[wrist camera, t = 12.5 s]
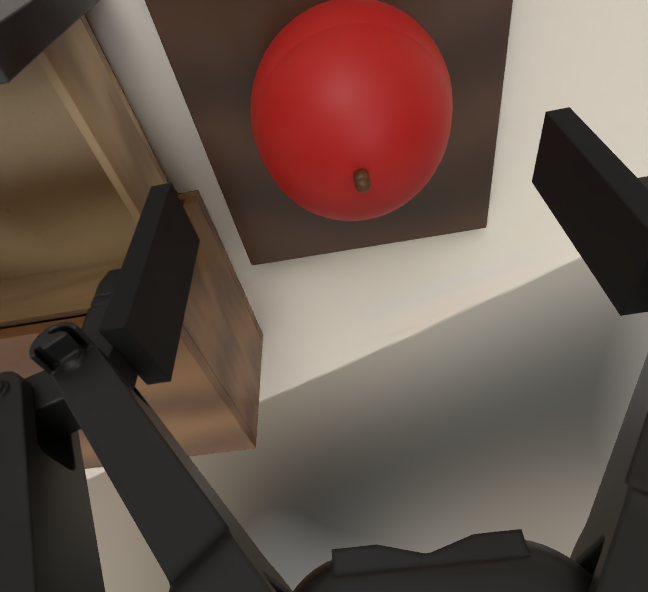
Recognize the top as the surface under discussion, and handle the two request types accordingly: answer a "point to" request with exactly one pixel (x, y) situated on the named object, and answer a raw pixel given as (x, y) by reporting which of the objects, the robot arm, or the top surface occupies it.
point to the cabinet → (189, 355)
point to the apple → (352, 109)
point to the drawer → (63, 162)
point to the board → (240, 148)
